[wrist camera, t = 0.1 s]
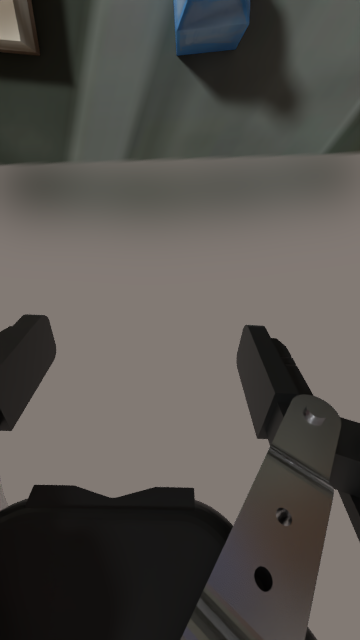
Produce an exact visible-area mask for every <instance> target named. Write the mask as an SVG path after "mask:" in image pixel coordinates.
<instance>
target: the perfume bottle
mask: <svg viewBox="0 0 360 640" xmlns="http://www.w3.org/2000/svg"><path fill="white" fill-rule="evenodd" d="M173 1H174V18H175V34H176V51H177V56H180V55H189V54H198V53H207V52H217V51H226V50H235V49H236V48H237V46H238V44H239V42H240V40H241V38H242V36H243V34H244V33H245V31H246V29H247V27H248V25H249V20H250V0H173Z"/></svg>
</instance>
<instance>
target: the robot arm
mask: <svg viewBox="0 0 360 640" xmlns="http://www.w3.org/2000/svg"><path fill="white" fill-rule="evenodd" d="M55 355H56V344H55V341H54V337H53V334H52V330H51V326H50V322H49V319H48V317H47V316H45V315H23V316H22V317H21V318H20V319H19V320H18V321H17V322H16V323H15V324H14V325H13V326H10V327H8V328H6V329H4V330H3V331H1V332H0V431H1V430H2V431H12V429H13V428H14V426H15V424H16V422H17V421H18V419H19V418H20V416H21V414H22V413H23V411H24V409H25V408H26V406H27V404H28V402H29V401H30V399H31V398H32V396H33V394H34V392H35V391H36V389H37V388H38V386H39V384H40V383H41V381H42V379H43V377H44V376H45V374H46V372H47V371H48V369H49V367H50V366H51V364H52V362H53V361H54V358H55ZM237 368H238V372H239V376H240V379H241V382H242V386H243V390H244V393H245V397H246V401H247V404H248V408H249V411H250V415H251V418H252V422H253V425H254V429H255V432H256V436H257V438H258V439H268V440H269V443H270V448H269V450H268V453H267V455H266V457H265V459H264V461H263V463H262V465H261V467H260V470H259V472H258V474H257V476H256V478H255V481H254V482H253V485H252V487H251V489H250V491H249V493H248V496H247V498H246V500H245V502H244V504H243V506H242V508H241V510H240V513H239V515H238V517H237V519H236V521H235V524H234V526H233V525H232V524H231V523H230V522H229V521H228V520H227V519H226V518H225V517H224V516H222V515H221V514H220V513H219V512H218V511H216V510H214V509H213V508H212V507H210V506H208V505H206V504H204V503H202V502H199V501H196V500H194V488H174V487H171V488H169V487H154V488H150V489H147V490H143V491H139V492H136V493H132V494H128V495H125V496H121V497H117V498H109V497H106V496H103V495H100V494H97V493H94V492H91V491H88V490H86V489H83V488H80V487H77V486H67V485H66V486H65V485H34V487H33V489H32V491H31V493H30V496H29V498H28V499H25V500H22V501H20V502H17V503H14V504H12V505H10V506H8V504H7V502H6V499H5V497H4V494H3V491H2V485H1V480H0V640H317V639H316V638H315V636H314V635H313V634H312V632H311V631H310V629H309V628H308V627H307V626H308V621H309V616H310V611H311V606H312V601H313V596H314V591H315V586H316V580H317V576H318V571H319V566H320V561H321V556H322V551H323V546H324V541H325V536H326V530H327V526H328V521H329V515H330V511H331V506H332V500H333V494H334V489H337V490H338V492H339V494H340V497H341V499H342V501H343V504H344V506H345V508H346V511H347V513H348V515H349V518H350V520H351V522H352V525H353V527H354V530H355V532H356V534H357V537H358V539H359V541H360V423H357V422H354V421H351V420H347V419H344V418H341V417H339V415H338V413H337V412H336V411H335V409H334V408H333V407H332V406H331V405H329V404H328V403H327V402H325V401H324V400H322V399H320V398H318V397H315V396H313V394H312V392H311V390H310V389H309V387H308V385H307V383H306V381H305V380H304V378H303V376H302V374H301V373H300V371H299V369H298V367H297V366H296V364H295V362H294V360H293V358H291V355H290V353H289V351H288V349H287V348H286V346H284V345H283V344H282V343H281V342H280V341H278V339H275V338H270V336H269V334H268V332H267V330H266V328H265V327H264V326H255V325H245V326H244V328H243V332H242V336H241V340H240V344H239V348H238V352H237Z"/></svg>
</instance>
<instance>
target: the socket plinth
mask: <svg viewBox="0 0 360 640" xmlns="http://www.w3.org/2000/svg"><path fill="white" fill-rule="evenodd" d="M0 52H5V53H16V54H26V55H37V56H40V50H39V44H38V38H37V32H36V26H35V20H34V14H33V8H32V2H31V0H0Z"/></svg>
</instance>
